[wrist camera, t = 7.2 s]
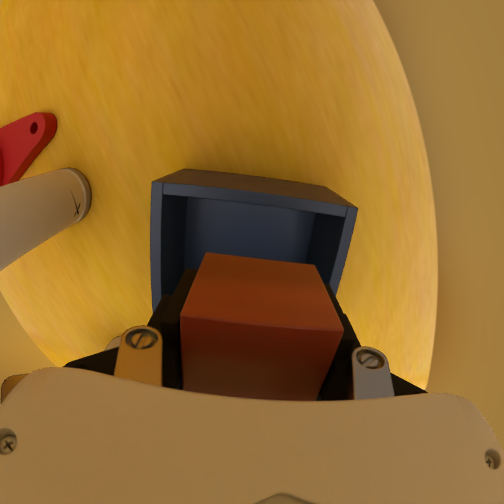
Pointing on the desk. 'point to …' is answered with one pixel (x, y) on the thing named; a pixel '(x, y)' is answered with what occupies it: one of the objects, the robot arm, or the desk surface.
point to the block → (257, 329)
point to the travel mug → (40, 210)
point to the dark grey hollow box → (244, 224)
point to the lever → (23, 144)
